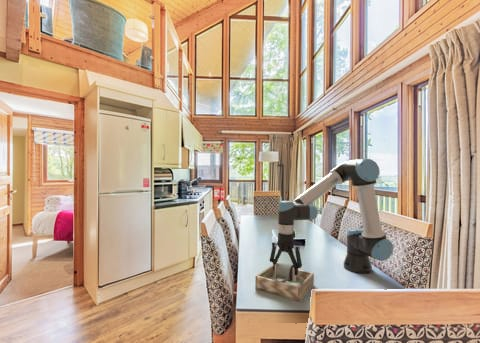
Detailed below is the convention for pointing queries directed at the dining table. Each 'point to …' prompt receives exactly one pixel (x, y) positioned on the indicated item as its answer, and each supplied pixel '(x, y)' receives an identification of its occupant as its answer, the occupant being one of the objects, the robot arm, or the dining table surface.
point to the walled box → (285, 284)
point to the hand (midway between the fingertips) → (285, 279)
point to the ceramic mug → (284, 272)
